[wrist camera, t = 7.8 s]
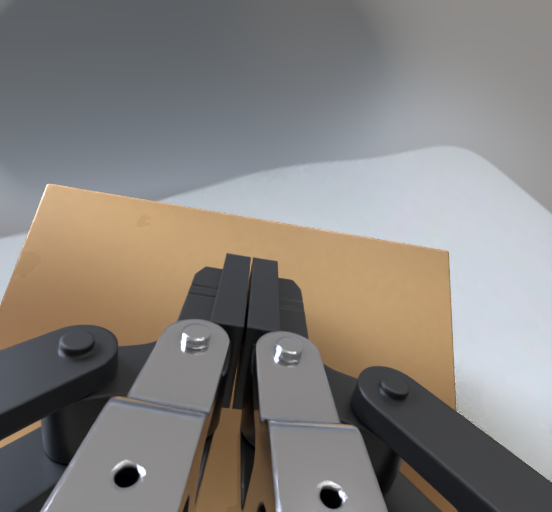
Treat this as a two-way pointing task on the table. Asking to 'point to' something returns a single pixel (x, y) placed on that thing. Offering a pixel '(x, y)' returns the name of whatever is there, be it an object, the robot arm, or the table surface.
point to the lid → (254, 243)
